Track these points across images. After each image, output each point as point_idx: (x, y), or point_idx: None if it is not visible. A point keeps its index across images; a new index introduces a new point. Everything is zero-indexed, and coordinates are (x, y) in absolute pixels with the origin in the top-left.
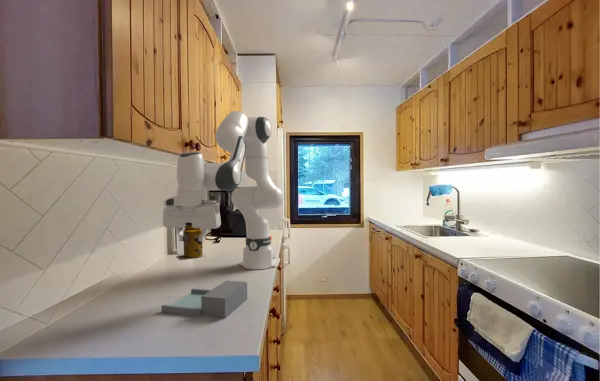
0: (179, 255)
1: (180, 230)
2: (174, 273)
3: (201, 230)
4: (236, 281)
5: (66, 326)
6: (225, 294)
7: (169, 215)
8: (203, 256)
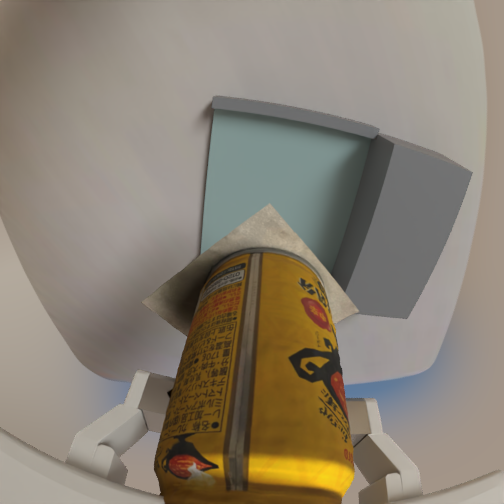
0: (161, 294)
1: (124, 466)
2: None
3: (361, 499)
4: (437, 162)
5: (71, 315)
6: (408, 294)
7: None
8: (337, 301)
